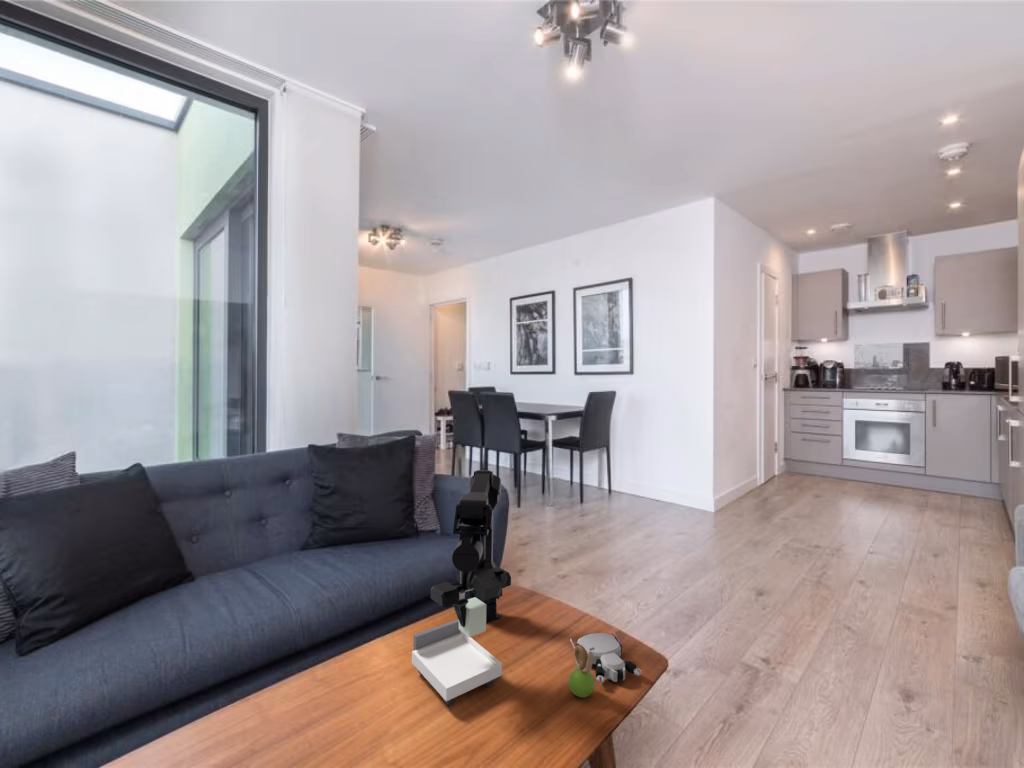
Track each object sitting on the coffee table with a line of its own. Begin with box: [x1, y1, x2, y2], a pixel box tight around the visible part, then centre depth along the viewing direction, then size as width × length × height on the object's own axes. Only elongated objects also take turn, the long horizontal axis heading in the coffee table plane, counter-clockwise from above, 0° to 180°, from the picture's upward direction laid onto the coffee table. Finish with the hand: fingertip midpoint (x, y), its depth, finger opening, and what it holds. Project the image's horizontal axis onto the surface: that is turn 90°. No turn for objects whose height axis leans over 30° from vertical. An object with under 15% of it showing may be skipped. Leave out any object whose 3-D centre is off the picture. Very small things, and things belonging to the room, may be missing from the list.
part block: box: [459, 597, 487, 638], centre depth 105 cm, size 4×4×6 cm
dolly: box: [411, 618, 503, 707], centre depth 105 cm, size 17×14×8 cm
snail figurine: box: [568, 645, 595, 699], centre depth 99 cm, size 5×6×12 cm
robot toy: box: [569, 631, 643, 684], centre depth 110 cm, size 12×4×15 cm
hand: (471, 623), depth 105 cm, fingers closed on part block, 4 cm apart
